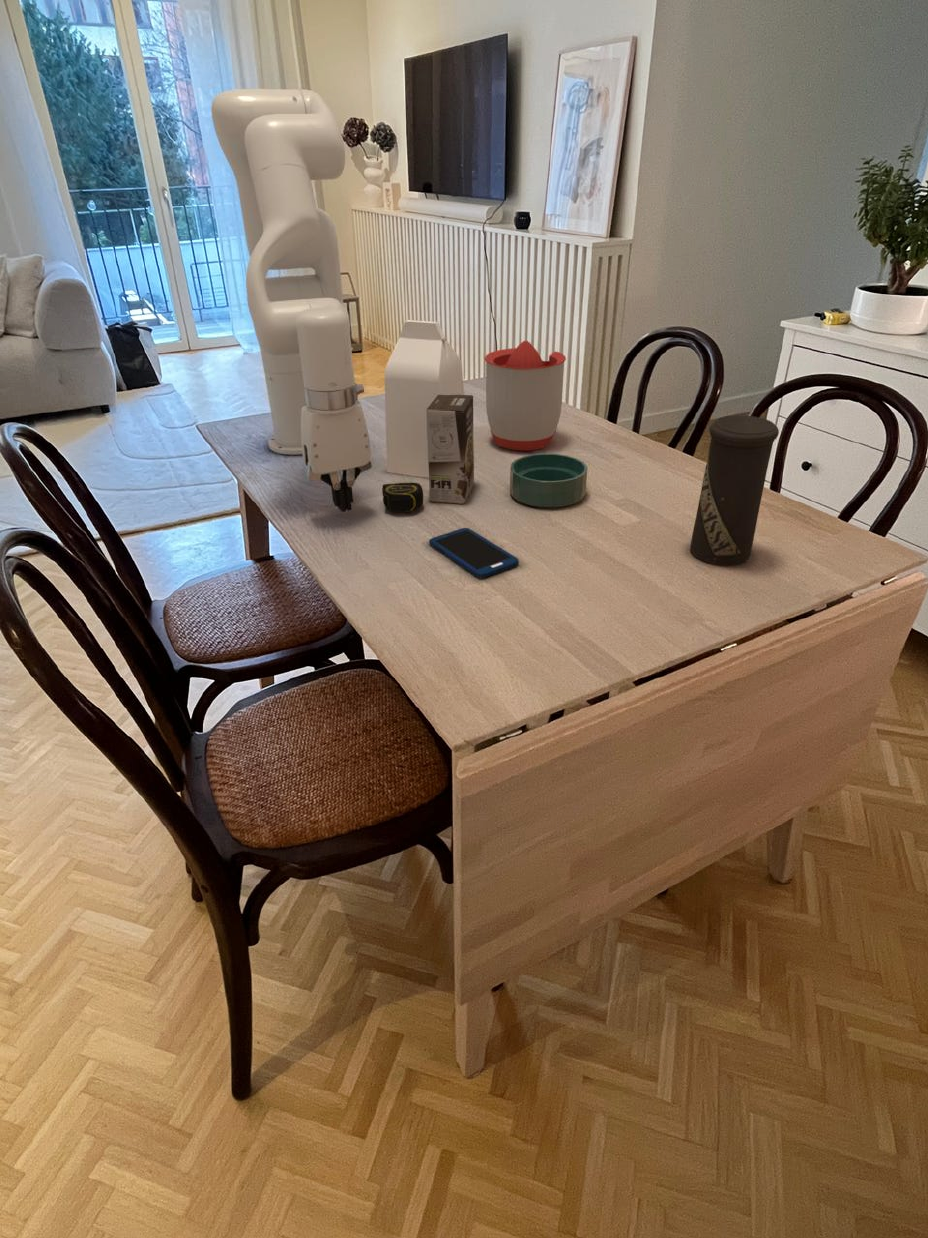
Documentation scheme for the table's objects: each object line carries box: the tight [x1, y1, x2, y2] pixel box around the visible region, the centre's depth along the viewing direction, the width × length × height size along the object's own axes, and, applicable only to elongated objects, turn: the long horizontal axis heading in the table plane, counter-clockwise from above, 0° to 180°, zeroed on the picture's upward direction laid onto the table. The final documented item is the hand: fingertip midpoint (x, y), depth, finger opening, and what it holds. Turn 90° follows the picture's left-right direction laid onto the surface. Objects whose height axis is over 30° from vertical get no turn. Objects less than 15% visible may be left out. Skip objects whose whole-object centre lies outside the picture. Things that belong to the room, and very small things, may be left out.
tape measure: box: [381, 482, 424, 513], centre depth 122 cm, size 7×7×4 cm
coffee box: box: [426, 394, 475, 505], centre depth 124 cm, size 9×6×16 cm
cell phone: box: [428, 527, 520, 579], centre depth 108 cm, size 7×14×1 cm, turn 35°
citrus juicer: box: [484, 340, 567, 452], centre depth 144 cm, size 16×17×20 cm
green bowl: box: [509, 453, 588, 508], centre depth 125 cm, size 13×13×5 cm
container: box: [689, 414, 780, 566], centre depth 102 cm, size 9×9×20 cm
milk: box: [384, 319, 465, 479], centre depth 132 cm, size 12×12×26 cm
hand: (343, 507), depth 120 cm, fingers closed
